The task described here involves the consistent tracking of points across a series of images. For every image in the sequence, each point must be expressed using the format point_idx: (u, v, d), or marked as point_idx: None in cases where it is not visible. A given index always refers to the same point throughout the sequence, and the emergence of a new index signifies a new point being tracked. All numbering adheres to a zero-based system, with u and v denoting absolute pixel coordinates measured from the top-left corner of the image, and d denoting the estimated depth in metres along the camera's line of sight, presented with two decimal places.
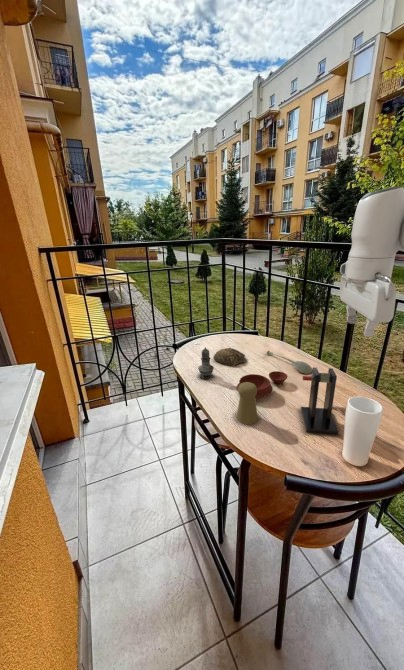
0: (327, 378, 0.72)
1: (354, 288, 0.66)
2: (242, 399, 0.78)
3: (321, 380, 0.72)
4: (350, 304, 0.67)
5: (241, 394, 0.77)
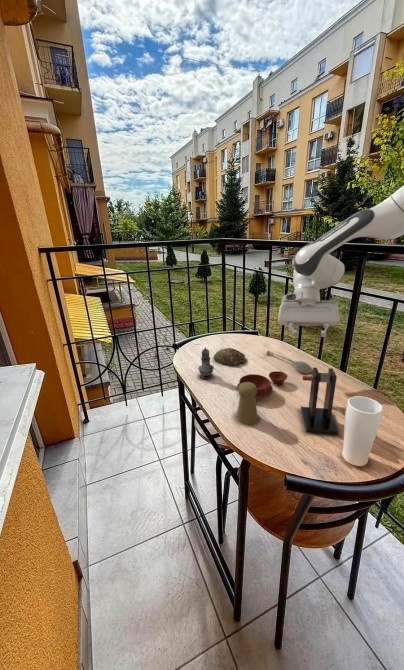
0: (327, 378, 0.72)
1: (301, 309, 0.98)
2: (242, 399, 0.78)
3: (321, 380, 0.72)
4: (301, 319, 0.96)
5: (241, 394, 0.77)
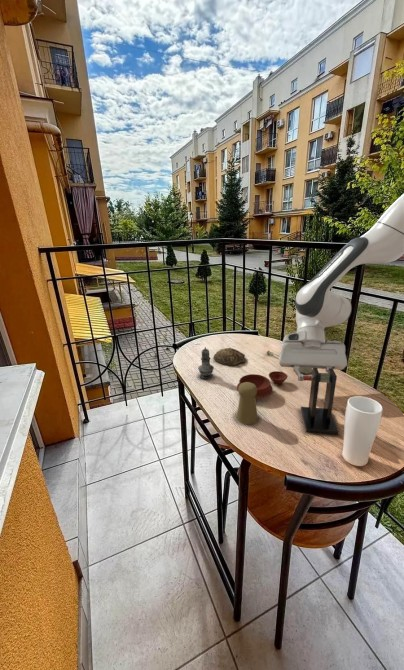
0: (327, 378, 0.72)
1: (305, 351, 0.90)
2: (242, 399, 0.78)
3: (321, 380, 0.72)
4: (305, 362, 0.88)
5: (241, 394, 0.77)
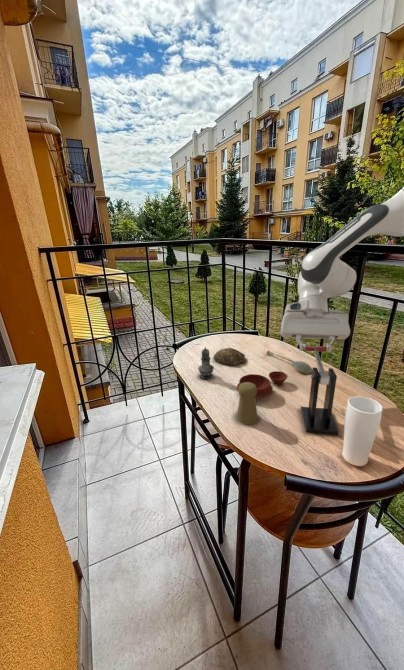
0: (327, 382, 0.72)
1: (307, 320, 0.88)
2: (242, 399, 0.78)
3: (320, 383, 0.73)
4: (307, 331, 0.86)
5: (241, 394, 0.77)
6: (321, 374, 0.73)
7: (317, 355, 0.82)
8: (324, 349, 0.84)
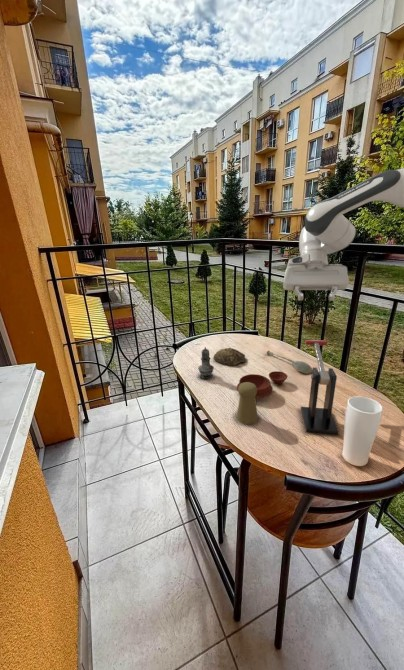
0: (327, 382, 0.73)
1: (308, 273, 0.93)
2: (242, 399, 0.78)
3: (320, 383, 0.73)
4: (308, 282, 0.91)
5: (241, 394, 0.77)
6: (321, 375, 0.73)
7: (318, 351, 0.81)
8: (325, 343, 0.83)
